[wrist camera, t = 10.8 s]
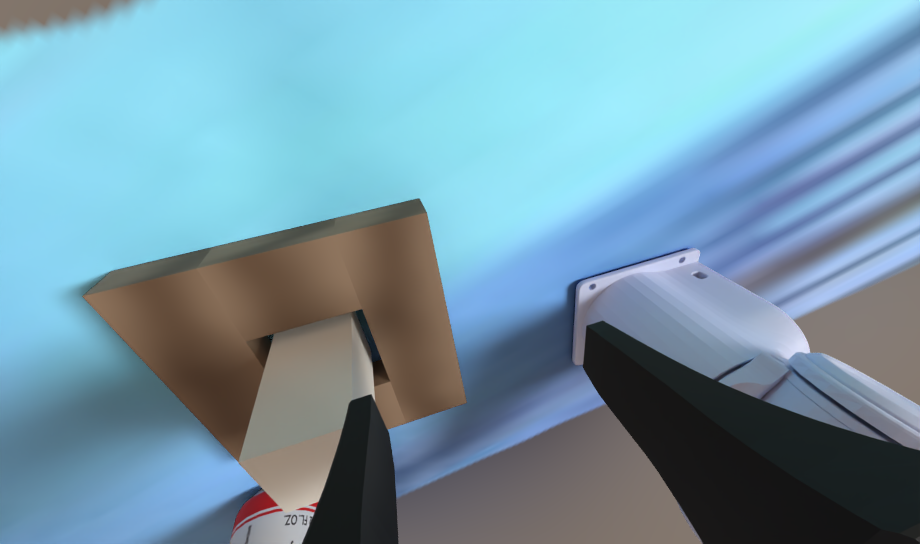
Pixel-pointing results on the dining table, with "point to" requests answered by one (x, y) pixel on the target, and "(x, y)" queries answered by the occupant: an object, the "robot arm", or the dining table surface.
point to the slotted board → (291, 313)
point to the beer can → (270, 522)
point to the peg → (305, 407)
